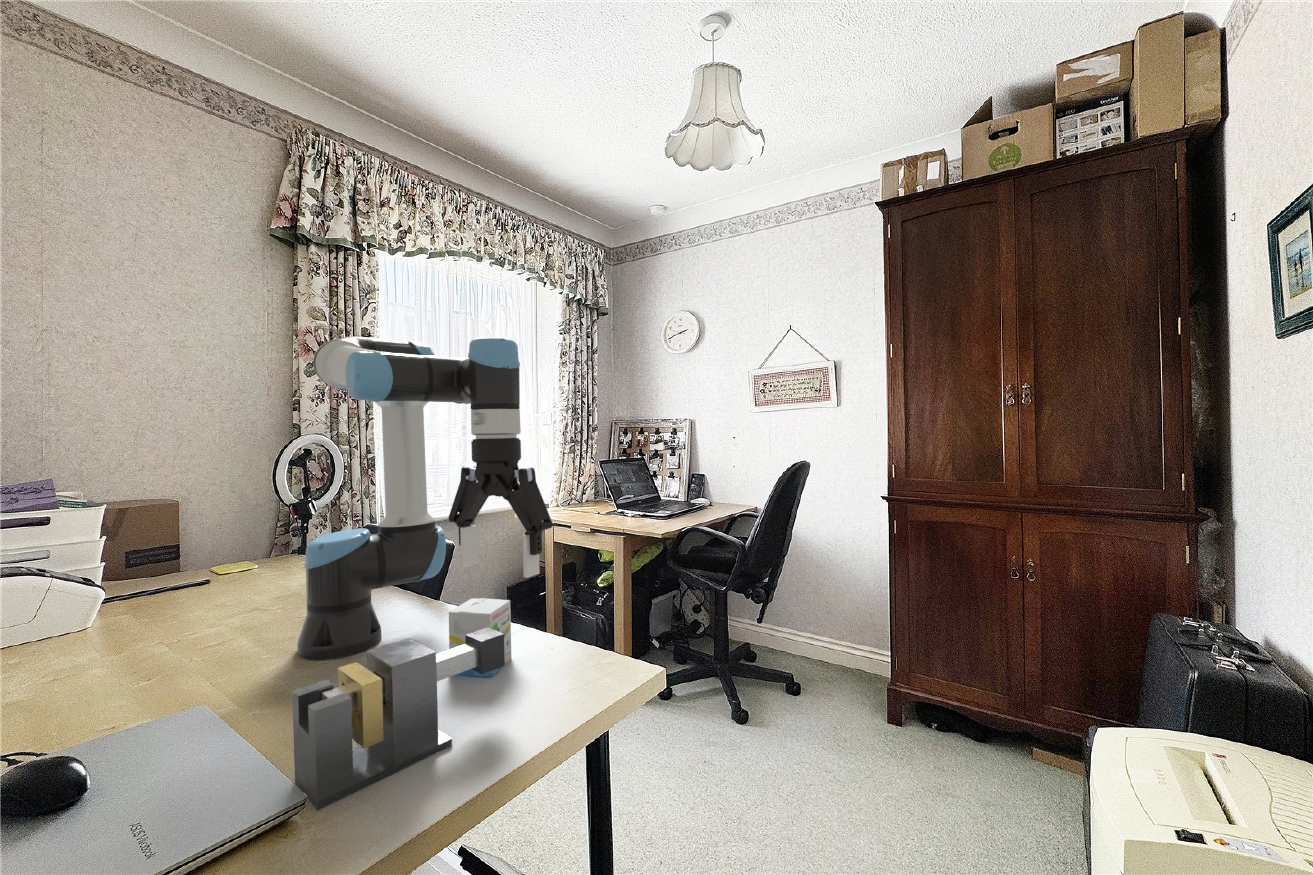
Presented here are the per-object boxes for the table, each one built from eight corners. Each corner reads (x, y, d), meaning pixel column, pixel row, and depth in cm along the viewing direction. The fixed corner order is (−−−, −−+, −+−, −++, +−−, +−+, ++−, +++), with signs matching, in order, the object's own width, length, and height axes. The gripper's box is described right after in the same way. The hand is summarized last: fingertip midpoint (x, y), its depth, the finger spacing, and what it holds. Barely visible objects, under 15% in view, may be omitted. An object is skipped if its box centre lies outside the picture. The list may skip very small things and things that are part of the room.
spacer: (339, 726, 74) (337, 667, 74) (358, 719, 76) (356, 661, 76) (363, 748, 69) (362, 685, 69) (383, 740, 71) (381, 678, 71)
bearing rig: (295, 782, 70) (291, 673, 70) (424, 726, 83) (422, 633, 83) (317, 810, 65) (314, 692, 65) (452, 745, 78) (449, 647, 78)
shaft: (320, 720, 71) (319, 682, 71) (488, 658, 89) (487, 627, 89) (333, 733, 68) (332, 692, 68) (504, 665, 86) (504, 633, 86)
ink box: (491, 678, 99) (489, 613, 99) (448, 674, 101) (446, 611, 100) (512, 658, 107) (511, 598, 107) (472, 655, 109) (471, 596, 109)
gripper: (423, 438, 90) (427, 567, 91) (540, 436, 78) (543, 586, 78) (460, 437, 97) (463, 557, 97) (573, 435, 84) (576, 573, 85)
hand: (499, 570), depth 88 cm, fingers open, 13 cm apart
